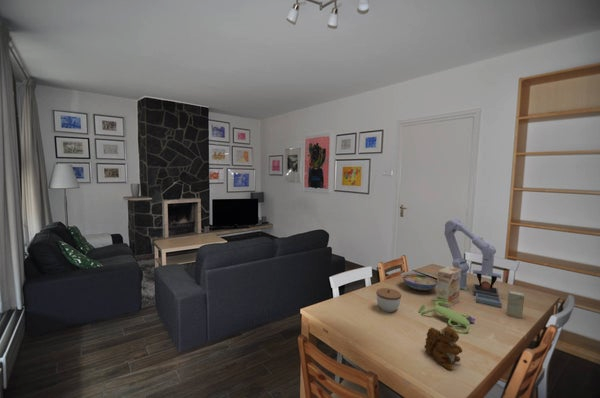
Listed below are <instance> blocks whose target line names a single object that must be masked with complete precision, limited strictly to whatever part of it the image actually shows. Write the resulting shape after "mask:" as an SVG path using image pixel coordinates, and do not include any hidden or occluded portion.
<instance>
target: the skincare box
mask: <svg viewBox="0 0 600 398" xmlns="http://www.w3.org/2000/svg"><path fill="white" fill-rule="evenodd" d="M524 302H525V294H524V293H523V292H518V291H512V290H508V293H507V302H506V311H505V313H506V315H507V316H510V317H514V318H518V319H523V311H524V304H525V303H524Z"/></svg>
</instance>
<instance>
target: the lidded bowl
mask: <svg viewBox="0 0 600 398" xmlns="http://www.w3.org/2000/svg"><path fill="white" fill-rule="evenodd" d="M401 298H402V294H401V292H400V291H398V290H395V289H393V288H388V287H382V288H378V289H377V290H376V302H377V305H378V307H379V308H380V309H381V310H382V311H383V312H387V313H393V312H395V311H396V310H398V308H399V306H400V304H401Z"/></svg>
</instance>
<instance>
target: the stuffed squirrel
mask: <svg viewBox="0 0 600 398" xmlns="http://www.w3.org/2000/svg"><path fill="white" fill-rule="evenodd" d="M459 339H460V336H459V333H457V332H455V331H454V330H453V327H451V326H450V325H449V324H448V325H447V326H446V327H444V328H443V329H442V328H441V329H440V330H438V329H436V328H434V327H430V328H428V330H427V332H426V338H425V344H424V349H425V352H426V353H427V355H429V356H432V357H434V360H436V362H437V364H439V365H440V366H442V367H443V368H444V369H447V370H449V371H452V370H453V368H454V367H453V364H452V363H453V362H458V361H460V360H461V357H460V356H459V355H460V354H462V353H463V349H462V347H461V346H460V345H458V344H457V342H459Z"/></svg>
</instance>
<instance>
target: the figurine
mask: <svg viewBox="0 0 600 398" xmlns="http://www.w3.org/2000/svg"><path fill="white" fill-rule="evenodd" d="M430 301H432V302H433V301H435V302H434V306H433V307H432V308H430V309H428V310H425V308H426V307H427V306H426V304H422V305H421V306H420V308H419V309H418V311H417V313H418V314H422V315H425V314H428V313H431V312H434V311H436V312H437V313H438V314H440V315H442V316H443V317H444V318H445V319H446V320H447V319H448V320H447V324H448V325H449V326H450V327H452V329H453V330H454V331H455V332H456V333H457V334H462V335H463V334H467V333H468V332H469V331H470V327H469V326H470V325H471V323H472V324H475V321H476V318H473V317H471V315H467V314H463V313H458V312H457V311H454V310H453V309H450V308H446V307H443V306H440V305H438V304H439V303H441V304H445V305H448V302H447V301H446V300H443V299H436V298H431V300H430ZM436 301H437V302H436ZM442 301H443V302H442ZM424 310H425V311H424ZM451 322H454V323H456V324H452V323H451ZM462 326H463V327H465V330H461V331H460V330H457V329H456V328H455V327H462Z"/></svg>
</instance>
